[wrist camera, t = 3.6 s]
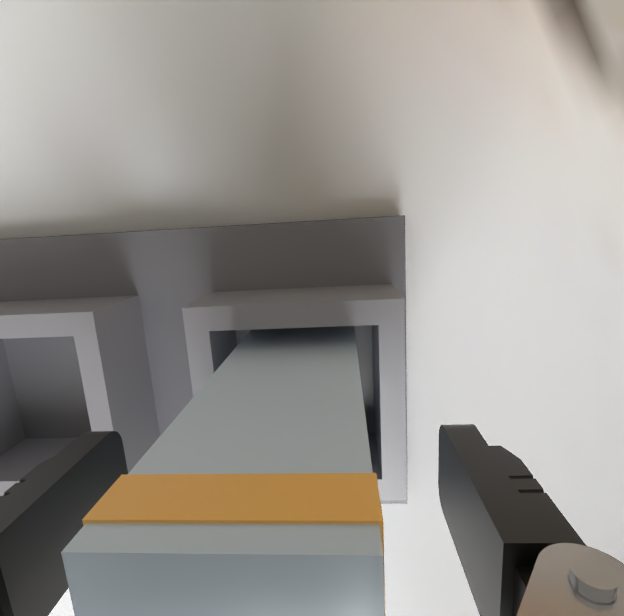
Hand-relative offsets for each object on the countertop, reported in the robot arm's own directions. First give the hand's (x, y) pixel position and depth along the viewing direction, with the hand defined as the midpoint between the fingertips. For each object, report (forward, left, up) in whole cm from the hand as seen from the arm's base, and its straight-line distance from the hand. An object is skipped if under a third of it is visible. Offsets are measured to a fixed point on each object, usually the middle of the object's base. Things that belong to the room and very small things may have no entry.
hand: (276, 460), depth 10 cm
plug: (0, 0, -6) cm, 6 cm away
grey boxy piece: (+5, 0, -7) cm, 9 cm away
